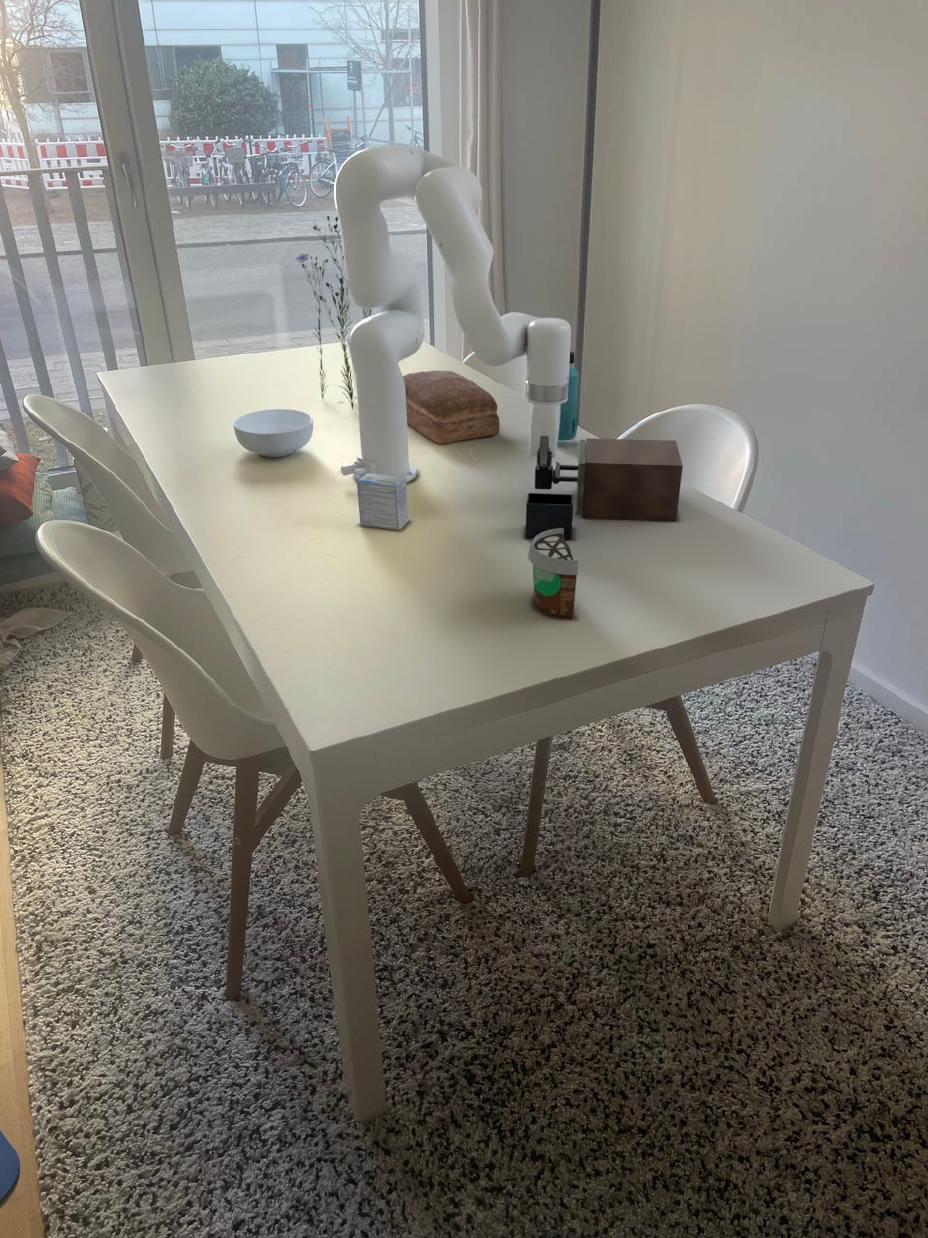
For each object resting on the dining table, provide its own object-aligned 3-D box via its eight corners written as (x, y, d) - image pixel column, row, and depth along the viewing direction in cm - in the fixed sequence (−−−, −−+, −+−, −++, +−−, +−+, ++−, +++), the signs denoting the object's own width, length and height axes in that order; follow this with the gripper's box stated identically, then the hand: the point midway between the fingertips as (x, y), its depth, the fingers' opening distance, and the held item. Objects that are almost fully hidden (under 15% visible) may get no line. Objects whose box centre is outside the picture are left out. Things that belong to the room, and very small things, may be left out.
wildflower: (311, 393, 239) (293, 206, 217) (397, 389, 241) (388, 204, 219) (307, 418, 220) (287, 217, 197) (401, 414, 222) (392, 214, 199)
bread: (449, 403, 230) (448, 357, 224) (503, 436, 207) (504, 386, 201) (387, 412, 223) (384, 365, 218) (435, 447, 200) (434, 396, 195)
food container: (521, 586, 142) (522, 528, 137) (560, 584, 143) (562, 526, 138) (533, 625, 132) (535, 563, 127) (574, 623, 132) (578, 562, 127)
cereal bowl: (222, 459, 195) (217, 427, 192) (264, 435, 209) (261, 405, 205) (290, 468, 190) (286, 435, 186) (329, 444, 203) (326, 413, 199)
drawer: (550, 513, 166) (552, 462, 161) (552, 486, 177) (554, 438, 173) (670, 517, 164) (675, 466, 159) (664, 490, 175) (669, 441, 170)
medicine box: (409, 521, 165) (407, 476, 161) (399, 531, 161) (397, 485, 157) (369, 516, 167) (366, 472, 163) (359, 525, 163) (356, 480, 159)
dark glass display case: (525, 538, 158) (526, 503, 155) (526, 526, 162) (527, 492, 159) (571, 540, 157) (573, 505, 154) (571, 528, 162) (573, 494, 158)
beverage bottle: (575, 447, 199) (579, 355, 189) (545, 446, 200) (548, 354, 190) (577, 438, 205) (582, 348, 195) (548, 436, 206) (551, 347, 196)
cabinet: (583, 518, 166) (586, 462, 160) (583, 490, 177) (586, 438, 172) (676, 521, 164) (682, 465, 159) (670, 493, 176) (675, 440, 170)
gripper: (528, 379, 168) (525, 473, 178) (523, 402, 156) (521, 502, 165) (568, 380, 168) (563, 474, 177) (567, 403, 155) (562, 503, 164)
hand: (543, 487), depth 171 cm, fingers closed
